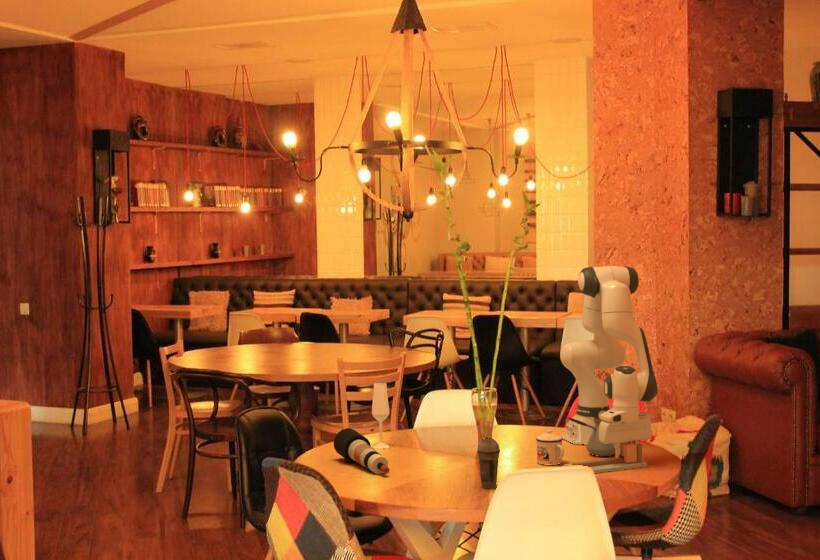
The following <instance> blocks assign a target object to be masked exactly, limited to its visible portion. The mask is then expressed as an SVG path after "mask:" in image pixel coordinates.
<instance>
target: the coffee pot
mask: <svg viewBox="0 0 820 560" xmlns="http://www.w3.org/2000/svg"><path fill="white" fill-rule="evenodd" d="M567 420H568V421H570V420H571V421H572V422H573V421H574V422H575V423H577V424H580V425H584V426H587V427H589V428H592V429H593V431H592V433H591V436H590V438H589V441H588V443H587V445H585V446H586V447H585V448H586V450H587V452H588V453H590V454H591V455H592V454H593V455H598V456H609V457H612V456H611V455H613V456H614V454H615V447H614V445H613V443H611V444H604V443H601V442H600V441H599V425H600V423H601V421H603V420H601V419H600V418H594V419H593V421H594V422H595V426H591V425H588V424H586V423H583V422H581V421H579V420H575V419H574V418H573V417H566V418H565V420H564V422H565V423H566V424H567V423H568V421H567ZM593 455H592V456H593ZM598 456H597V457H598Z"/></svg>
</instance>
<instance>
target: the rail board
mask: <svg viewBox="0 0 820 560" xmlns="http://www.w3.org/2000/svg"><path fill="white" fill-rule="evenodd" d="M627 442H630V443H632V441H627ZM568 465H583V466H588V467H591V468H592V469H593V471H594V472H595V473H597V474H601V473H600V472H604V473H609V472H608V471H612V472H617V471H616V470H619V471H625V470H624V469H627V470H633V469H632V468H634V469H641V468H640V467H642V468H647V467H648V463H647V462H644V461H643V445H642V444H640V443H638V444H637V462H631V463H626V462H624V457H616V458H615V457H611V458H610V457H609V458H601V459H594V460H587V461H586V460H585V461H578V462H572V463H564V464H563V465H562V467H563V466H568Z"/></svg>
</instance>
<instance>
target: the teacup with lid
mask: <svg viewBox="0 0 820 560" xmlns="http://www.w3.org/2000/svg"><path fill="white" fill-rule="evenodd" d="M535 440H536V462H537V464H538V463H539V464H538V465H540V464H550V465H551V464H552V465H555V464H558V463H561V462H562V463H563V457H564V454H565V450H564V447H563V440H564V439H562V437H561V436H560V435H559V434H556V433H555V432H553V430H552V429H546V432H544V433H542V434H540V435H537V436H536V439H535ZM562 463H561V464H562ZM555 466H556V465H555Z"/></svg>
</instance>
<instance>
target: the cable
mask: <svg viewBox="0 0 820 560" xmlns="http://www.w3.org/2000/svg"><path fill="white" fill-rule="evenodd" d="M333 447H334V448H333V449H334V450H335V452H336V453H337V454H339V456H341V457H342V458H344V459H345V460H346V461H347V462H348V463H350V464H351V463H352V464H355V465H356V464H358V465H360V466H362V467H364V468H365V469H367V470H369V471H371V472H373V473H374V474H375V475H381V474H380V473H383V474H384V473H385V474H389V473H390V470H391V469H390V468H389V461H388V460H387V459H386V457H384V456H383V455H382V454H381V453H379V452H378V451H377V449H376V448H373V446H372V444H371V442H370V441H369V439H368V438H367V437H365V436H364V435H362V434H361V433H360V432H358V431H357V430H356V429H353V428H350V427H349V428H348V427H346V428H343V429H341V430H339V432H337V433H336V435H335V437H334V439H333Z"/></svg>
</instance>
